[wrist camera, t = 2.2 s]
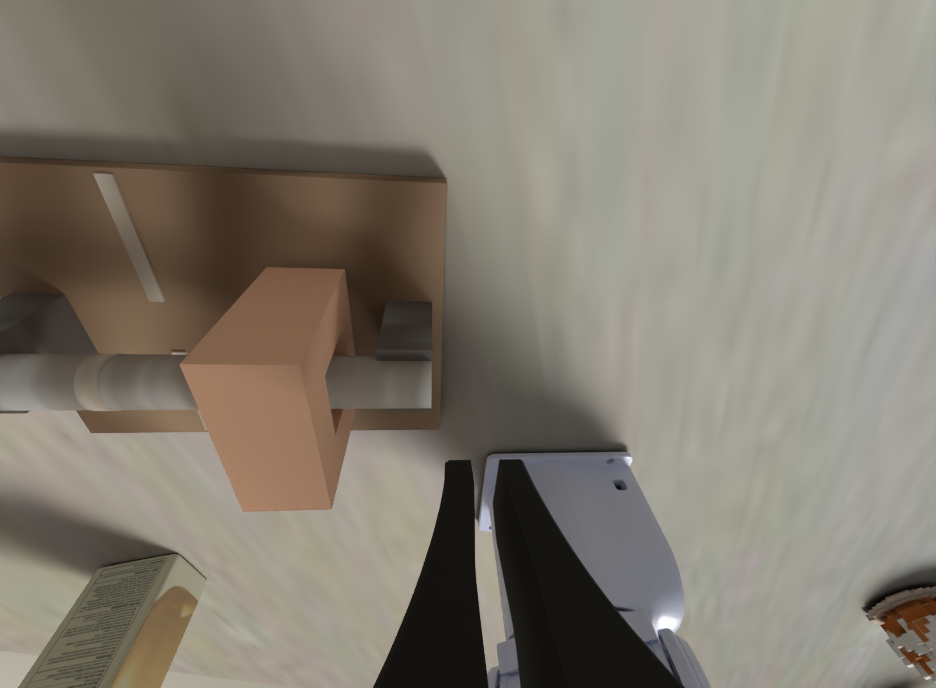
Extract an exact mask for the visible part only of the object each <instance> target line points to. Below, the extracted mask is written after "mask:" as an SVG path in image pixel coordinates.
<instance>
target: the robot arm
mask: <svg viewBox="0 0 936 688" xmlns="http://www.w3.org/2000/svg"><path fill="white" fill-rule="evenodd" d="M632 459H633V458H632V457H631V455H630V453H628V452H578V453H518V454H492V455H489V456H488V457H487V459H486V466H485V474H484V482H483V490H482V498H481V506H480V513H479V521H478V526H479V529H480V530H481V531H492V536H493V543H494V551H495V559H496V567H497V574H498V582H499V590H500V598H501V606H502V613H503V621H504V629H505V637H506V641H505V642H501V643H498V644H497V653H498V662H499V666H497V667H493V668H491V669H490V670H489V672H488V674H487V671H486V663H485V654H484V646H483V637H482V629H481V620H480V611H479V602H478V593H477V584H476V570H475V506H474V479H473V472H472V466H471V460H449V461H448V462H446V463H445V479H444V488H443V494H442V499H441V504H440V509H439V513H438V517H437V521H436V524H435V528H434V532H433V536H432V539H431V543H430V546H429V549H428V552H427V555H426V558H425V562H424V565H423V568H422V571H421V574H420V577H419V579H418V582H417V585H416V588H415V590H414V593H413V596H412V598H411V601H410V604H409V606H408V609H407V611H406V614H405V616H404V619H403V621H402V624H401V626H400V628H399V631H398V633H397V636H396V638H395V640H394V643H393V645H392V647H391V650H390V652H389V654H388V656H387V659H386V661H385V663H384V665H383V668H382V670H381V672H380V674H379V676H378V678H377V680H376V682H375V685H374V687H373V688H711V686H710V684H709V682H708V680H707V678H706V675H705V673H704V671H703V669H702V667H701V665H700V664H699V662H698V660H697V658H696V656H695V654H694V652H693V651H692V649H691V647H690V646H689V644H688V643H687V642H686V641H685V640H683V639H682V638H680V637H679V636H677V635H675V634H674V632H676V631H677V630H678V628H679V626H680V624H681V622H682V618H683V613H684V592H683V586H682V581H681V577H680V573H679V569H678V566H677V563H676V560H675V557H674V555H673V552H672V550H671V548H670V546H669V544H668V542H667V540H666V538H665V536H664V534H663V532H662V530H661V528H660V526H659V524H658V522H657V520H656V518H655V516H654V514H653V512H652V510H651V508H650V506H649V504H648V502H647V500H646V498H645V496H644V494H643V493H642V491H641V489H640V487H639V485H638V483H637V481H636V479H635V477H634V475H633V473H632V471H631V469H630V465H631V462H632ZM658 637H659V640H660V643H661V645H660V643H659V640H658ZM661 646H662V647H661Z"/></svg>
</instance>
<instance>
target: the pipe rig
mask: <svg viewBox="0 0 936 688" xmlns="http://www.w3.org/2000/svg"><path fill="white" fill-rule="evenodd" d="M446 195H447V181H446V178H433V177H413V176H392V175H372V174H351V173H330V172H310V171H289V170H268V169H248V168H227V167H207V166H186V165H165V164H145V163H124V162H103V161H83V160H62V159H42V158H21V157H0V297H1V299H0V413H28V412H29V411H46V410H76V411H77V413H78V414H79V416H80V417H81V419H82V420H83V422H84V423H85V425H86V426H87V428H88V429H89V431H90V432H91V433H138V432H208V429H207V427H206V425H205V422H204V420H203V418H202V416H201V413H200V411H199V409H198V406H197V404H196V402H195V399H194V397H193V395H192V392H191V390H190V388H189V385H188V383H187V381H186V379H185V376H184V374H183V372H182V369H181V367H180V365H179V364H180V363H181V362H182V361H183V360H184V359H185V358H186V356H187V355H188V354H189V353H190V352H191V351H192V350H193V349H194V348H195V346H196V345H197V344H198V343H199V342H200V341H201V340H202V339H203V338H204V336H205V335H206V334H207V333H208V332H209V331H210V330H211V329H212V328H213V326H214V325H215V324H216V323H217V322H218V321H219V320H220V319H221V318H222V316H223V315H224V314H225V313H226V312H227V311H228V310H229V309H230V308H231V306H232V305H233V304H234V303H235V302H236V301H237V300H238V299H239V298H240V296H241V295H242V294H243V293H244V292H245V291H246V290H247V289H248V288H249V286H250V285H251V284H252V283H253V282H254V281H255V280H256V279H257V278H258V276H259V275H260V274H261V273H262V272H263V271H264V270H265V269H266V267H282V268H320V269H345V274H346V282H347V290H348V298H349V307H350V315H351V323H352V331H353V339H354V348H355V356H332V358H331V361H330V363H329V366H328V369H327V372H326V374H325V380H326V385H327V391H328V396H329V402H330V407H331V409H355V414H354V418H353V422H352V426H351V430H419V429H440V412H441V376H442V340H443V304H444V267H445V231H446Z"/></svg>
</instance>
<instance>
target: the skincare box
mask: <svg viewBox="0 0 936 688" xmlns="http://www.w3.org/2000/svg"><path fill="white" fill-rule="evenodd" d="M206 583H207V580H206V579H205V578H204V577H203V576H202V575H201V574H200V573H199V572H198V571H197V570H195V569H194V568H193V567H192V566H191V565H190V564H189V563H188V562H187V561H185V560H184V559H183V558H182V557H181V556H180V555H178V554H171V555H165V556H159V557H154V558H148V559H143V560H138V561H133V562H128V563H122V564H117V565H112V566H108V567H103V568H99V569H98V570H97V571H96V572H95V574H94V575H93V577H92V578H91V580H90V581H89V583H88V584H87V586H86V587H85V589H84V590H83V592H82V593H81V595H80V596H79V598H78V599H77V601H76V602H75V604H74V605H73V607H72V608H71V610H70V611H69V613H68V614H67V616H66V617H65V619H64V620H63V621H62V623H61V624H60V626H59V627H58V629H57V630H56V632H55V633H54V635H53V636H52V638H51V639H50V641H49V642H48V644H47V645H46V647H45V648H44V650H43V651H42V653H41V654H40V656H39V657H38V659H37V660H36V662H35V663H34V665H33V666H32V668H31V670H30V671H29V672H28V674H27V675H26V677H25V678H24V680H23V681H22V683H21V684H20V686H19V687H18V688H160V687H161V685H162V683H163V681H164V678H165V676H166V674H167V671H168V669H169V667H170V665H171V662H172V660H173V658H174V656H175V653H176V651H177V649H178V646H179V644H180V642H181V639H182V637H183V635H184V633H185V630H186V628H187V626H188V623H189V621H190V619H191V617H192V614H193V612H194V610H195V608H196V605H197V603H198V601H199V599H200V596H201V594H202V592H203V589H204V587H205V585H206Z"/></svg>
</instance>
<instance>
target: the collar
mask: <svg viewBox="0 0 936 688" xmlns="http://www.w3.org/2000/svg"><path fill="white" fill-rule="evenodd" d="M332 356H355V348H354V339H353V331H352V323H351V315H350V307H349V298H348V290H347V282H346V274H345V269H320V268H282V267H266V269H265V270H264V271H263V272H262V273H261V274H260V275H259V276H258V278H257V279H256V280H255V281H254V282H253V283H252V284H251V285H250V286H249V288H248V289H247V290H246V291H245V292H244V293H243V294H242V295H241V296H240V298H239V299H238V300H237V301H236V302H235V303H234V304H233V305H232V306H231V308H230V309H229V310H228V311H227V312H226V313H225V314H224V315H223V316H222V318H221V319H220V320H219V321H218V322H217V323H216V324H215V325H214V326H213V328H212V329H211V330H210V331H209V332H208V333H207V334H206V335H205V336H204V338H203V339H202V340H201V341H200V342H199V343H198V344H197V345H196V346H195V348H194V349H193V350H192V351H191V352H190V353H189V354H188V355H187V356H186V358H185V359H184V360H183V361H182V362H181V363H180V364H179V365H180V367H181V369H182V372H183V374H184V376H185V379H186V381H187V383H188V385H189V388H190V390H191V392H192V395H193V397H194V399H195V402H196V404H197V406H198V409H199V411H200V413H201V416H202V418H203V420H204V422H205V425H206V427H207V429H208V432H209V434H210V436H211V439H212V441H213V443H214V446H215V448H216V450H217V453H218V455H219V457H220V459H221V462H222V464H223V466H224V469H225V471H226V473H227V476H228V478H229V480H230V483H231V485H232V487H233V489H234V492H235V494H236V496H237V499H238V501H239V503H240V506H241V508H242V510H243V512H253V511H288V510H323V509H332V505H333V501H334V497H335V493H336V489H337V485H338V480H339V476H340V472H341V468H342V464H343V460H344V455H345V451H346V447H347V443H348V439H349V434H350V430H351V426H352V422H353V418H354V414H355V409H331V407H330V402H329V396H328V391H327V385H326V380H325V374H326V372H327V369H328V366H329V363H330V361H331V358H332Z"/></svg>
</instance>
